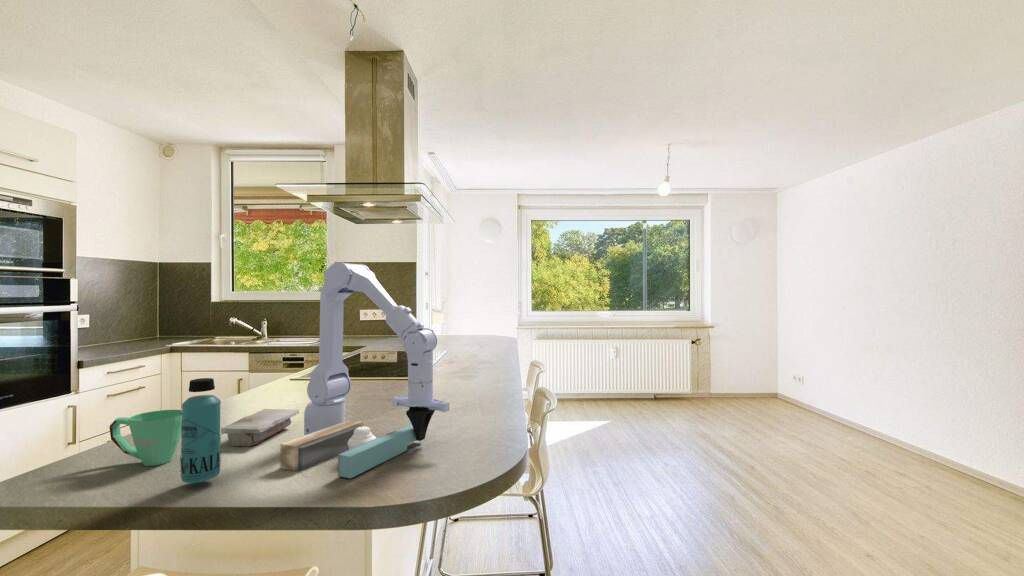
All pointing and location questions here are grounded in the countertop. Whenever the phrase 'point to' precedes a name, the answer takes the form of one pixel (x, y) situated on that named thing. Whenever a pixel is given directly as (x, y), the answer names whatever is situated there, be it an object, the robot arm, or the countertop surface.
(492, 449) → the countertop surface
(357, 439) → the white ribbed dome
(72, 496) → the countertop surface
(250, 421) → the grey box
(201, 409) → the beverage bottle
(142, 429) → the mug
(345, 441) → the wooden block
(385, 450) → the movable jaw
